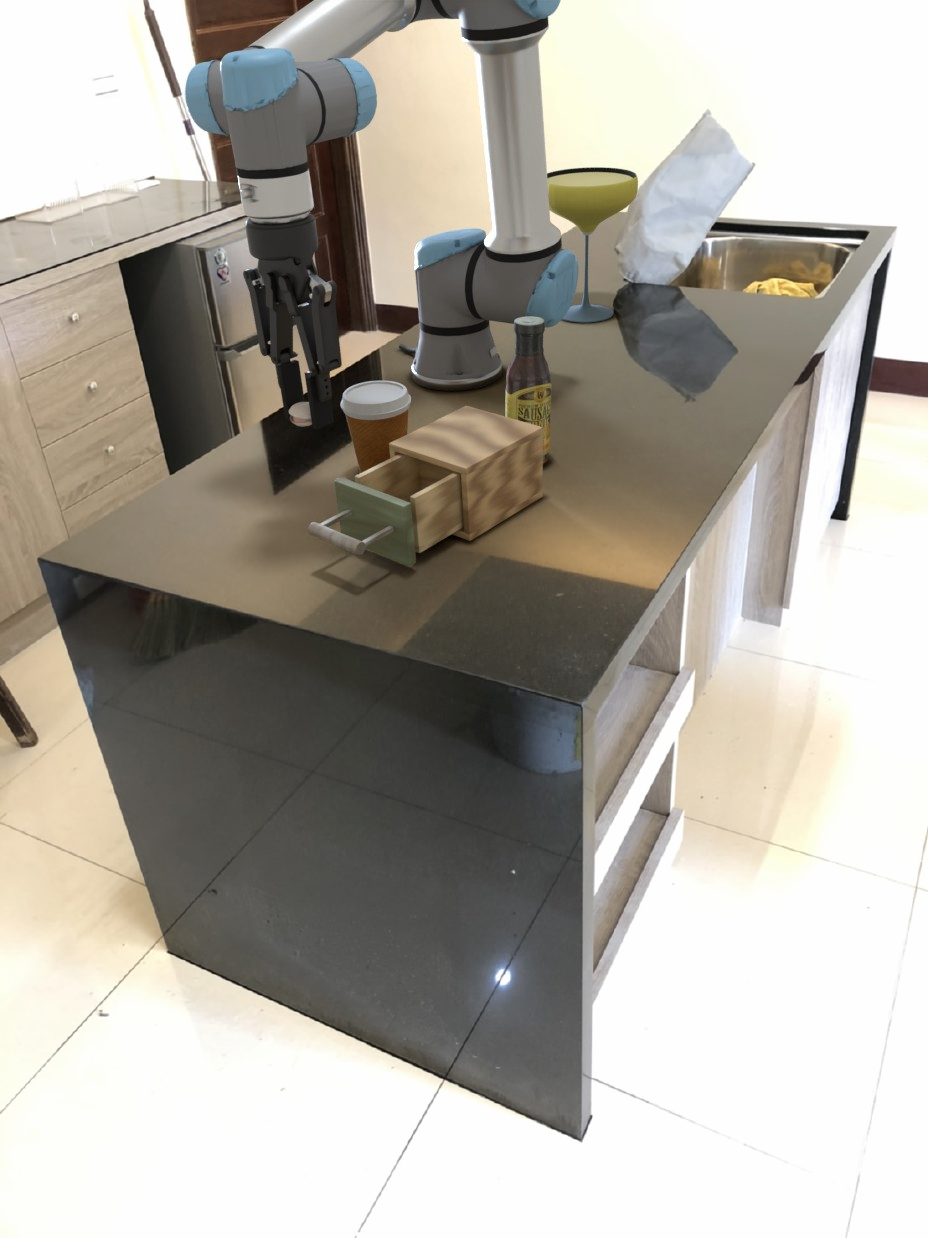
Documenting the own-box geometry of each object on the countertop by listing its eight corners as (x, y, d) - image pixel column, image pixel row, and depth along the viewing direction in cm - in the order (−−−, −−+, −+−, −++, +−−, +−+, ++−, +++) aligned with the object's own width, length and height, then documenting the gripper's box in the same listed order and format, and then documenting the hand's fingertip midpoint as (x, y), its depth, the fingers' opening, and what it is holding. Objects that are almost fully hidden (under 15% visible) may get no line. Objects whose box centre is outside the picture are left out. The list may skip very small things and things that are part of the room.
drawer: (371, 590, 113) (363, 528, 109) (303, 559, 120) (293, 500, 116) (484, 521, 126) (482, 464, 121) (417, 497, 132) (412, 441, 128)
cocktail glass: (569, 296, 207) (570, 164, 193) (648, 307, 197) (655, 170, 183) (521, 320, 195) (518, 182, 181) (603, 334, 185) (607, 189, 172)
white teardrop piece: (286, 420, 122) (283, 400, 120) (326, 412, 123) (323, 393, 122) (295, 433, 118) (292, 413, 117) (336, 424, 120) (333, 404, 118)
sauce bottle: (519, 474, 138) (516, 331, 127) (497, 458, 143) (492, 319, 132) (560, 463, 141) (560, 321, 130) (536, 447, 146) (535, 310, 134)
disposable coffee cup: (391, 494, 135) (383, 410, 129) (335, 480, 140) (324, 398, 133) (430, 467, 142) (424, 385, 135) (376, 454, 146) (367, 375, 140)
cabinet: (470, 541, 124) (465, 468, 118) (395, 512, 131) (388, 443, 125) (543, 496, 133) (542, 426, 127) (469, 472, 140) (466, 405, 134)
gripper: (202, 213, 110) (239, 414, 123) (305, 232, 100) (334, 448, 113) (256, 200, 115) (287, 395, 128) (360, 216, 105) (382, 426, 118)
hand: (309, 419), depth 121 cm, fingers closed on white teardrop piece, 4 cm apart
